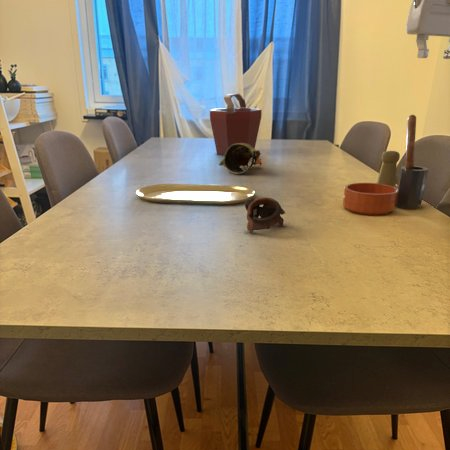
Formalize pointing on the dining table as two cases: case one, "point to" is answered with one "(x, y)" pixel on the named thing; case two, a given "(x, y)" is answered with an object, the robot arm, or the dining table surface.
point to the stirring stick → (410, 142)
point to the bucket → (234, 124)
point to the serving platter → (195, 194)
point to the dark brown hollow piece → (263, 213)
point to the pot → (240, 158)
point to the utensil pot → (411, 187)
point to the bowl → (370, 198)
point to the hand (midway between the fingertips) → (435, 58)
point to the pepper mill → (389, 168)
